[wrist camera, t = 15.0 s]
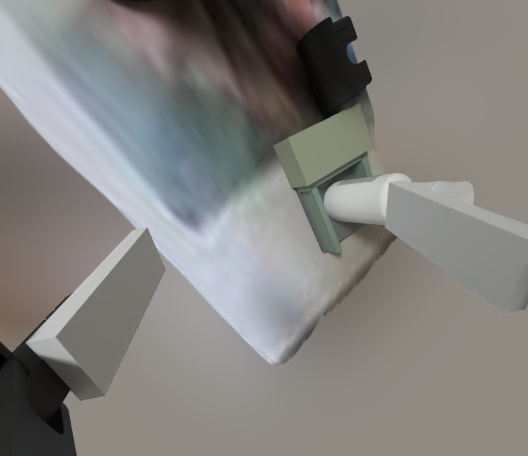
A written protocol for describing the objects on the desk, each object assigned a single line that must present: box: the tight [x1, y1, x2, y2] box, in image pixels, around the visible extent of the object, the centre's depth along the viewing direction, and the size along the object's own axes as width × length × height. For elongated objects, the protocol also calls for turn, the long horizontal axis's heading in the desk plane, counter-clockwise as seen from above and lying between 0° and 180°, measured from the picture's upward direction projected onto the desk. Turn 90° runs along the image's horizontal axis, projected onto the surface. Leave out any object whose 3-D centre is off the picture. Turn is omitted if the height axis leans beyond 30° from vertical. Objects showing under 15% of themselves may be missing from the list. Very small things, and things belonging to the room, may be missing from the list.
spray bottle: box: [324, 173, 474, 225], centre depth 31 cm, size 7×7×18 cm
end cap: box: [296, 16, 372, 114], centre depth 33 cm, size 10×7×7 cm
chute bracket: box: [273, 103, 373, 254], centre depth 37 cm, size 20×14×4 cm
